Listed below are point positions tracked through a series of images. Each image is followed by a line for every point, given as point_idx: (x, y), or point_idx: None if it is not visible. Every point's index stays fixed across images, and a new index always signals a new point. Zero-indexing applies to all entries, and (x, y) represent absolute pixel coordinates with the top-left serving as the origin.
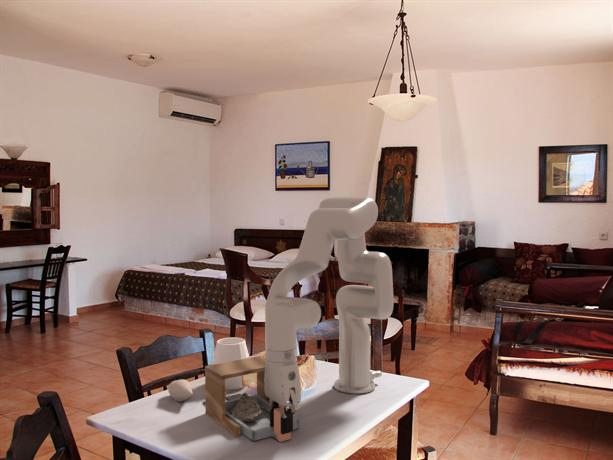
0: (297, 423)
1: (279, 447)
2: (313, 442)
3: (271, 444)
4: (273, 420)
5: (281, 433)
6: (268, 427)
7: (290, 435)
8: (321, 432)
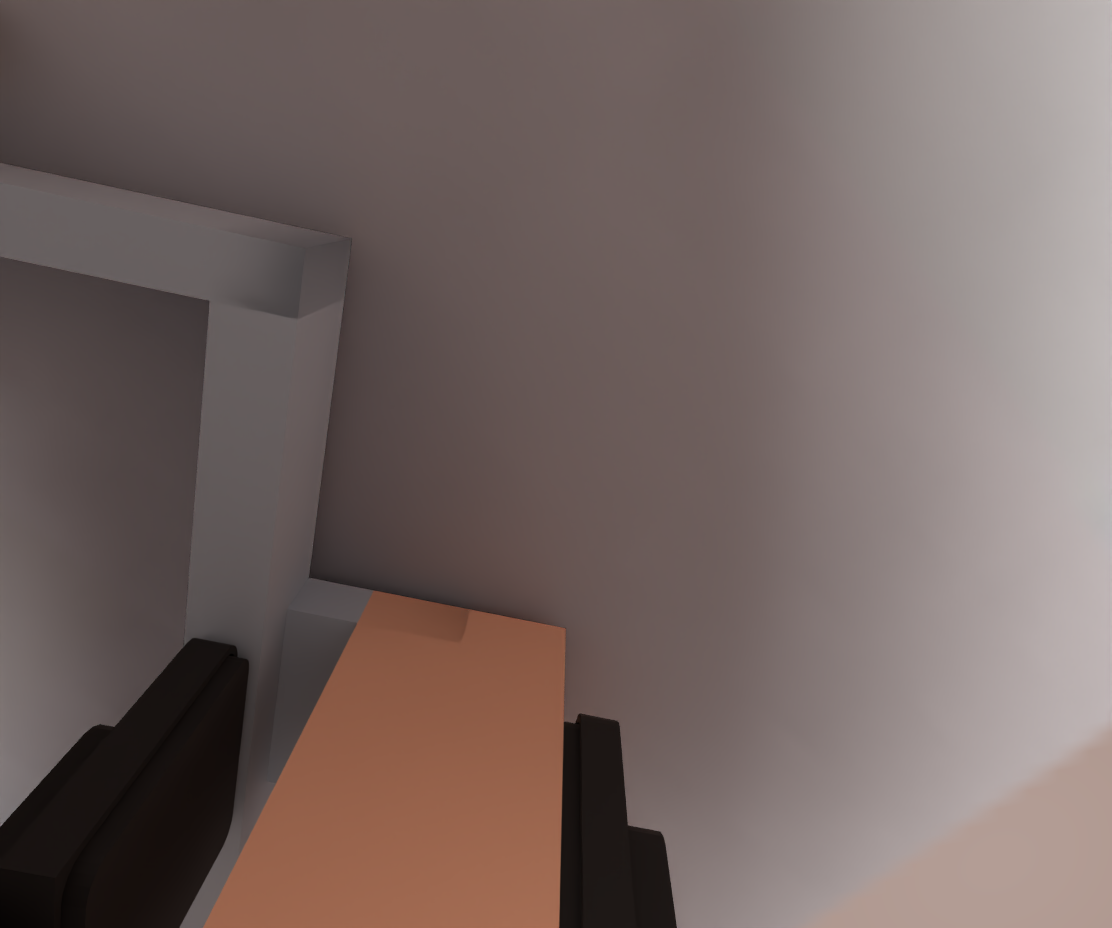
0: (320, 293)
1: None
2: (894, 454)
3: None
4: (182, 893)
5: None
6: None
7: (561, 666)
8: (761, 38)
